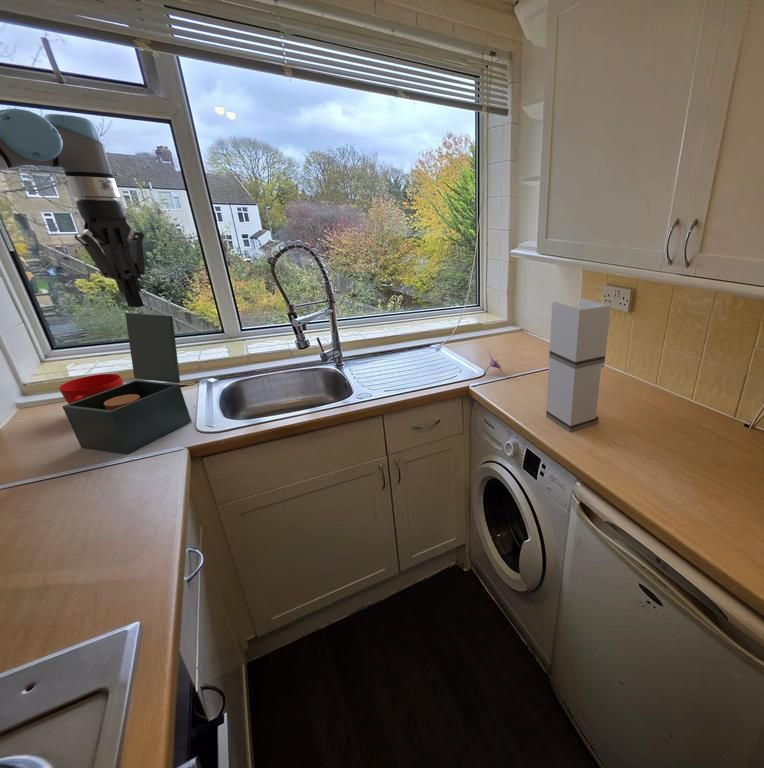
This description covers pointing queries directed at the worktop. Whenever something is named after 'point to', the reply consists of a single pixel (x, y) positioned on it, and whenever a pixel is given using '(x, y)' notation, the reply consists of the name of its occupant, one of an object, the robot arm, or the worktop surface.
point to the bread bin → (128, 417)
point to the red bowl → (89, 386)
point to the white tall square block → (576, 362)
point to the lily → (494, 364)
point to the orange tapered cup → (120, 401)
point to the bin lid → (153, 347)
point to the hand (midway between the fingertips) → (136, 306)
